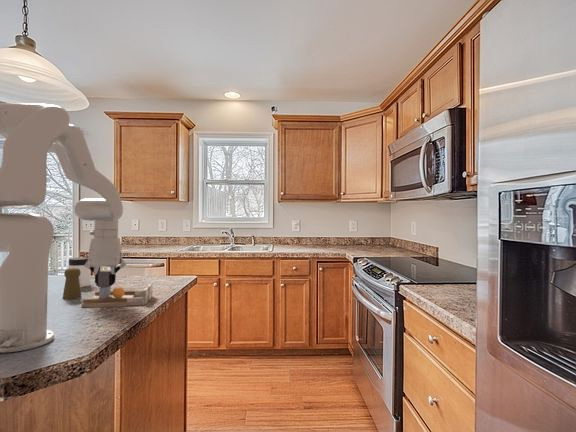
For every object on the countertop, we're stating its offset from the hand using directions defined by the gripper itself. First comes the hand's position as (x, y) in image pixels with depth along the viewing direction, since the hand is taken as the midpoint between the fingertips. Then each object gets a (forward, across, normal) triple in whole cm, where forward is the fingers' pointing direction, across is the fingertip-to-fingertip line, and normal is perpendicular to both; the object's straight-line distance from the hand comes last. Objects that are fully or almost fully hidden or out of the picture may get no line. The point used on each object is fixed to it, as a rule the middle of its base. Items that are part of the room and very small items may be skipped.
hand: (105, 284), depth 121 cm
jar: (+6, -20, +30) cm, 37 cm away
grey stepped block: (+5, 0, 0) cm, 5 cm away
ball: (+3, +4, 0) cm, 5 cm away
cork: (+6, -14, +8) cm, 17 cm away
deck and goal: (+6, +6, 0) cm, 9 cm away
